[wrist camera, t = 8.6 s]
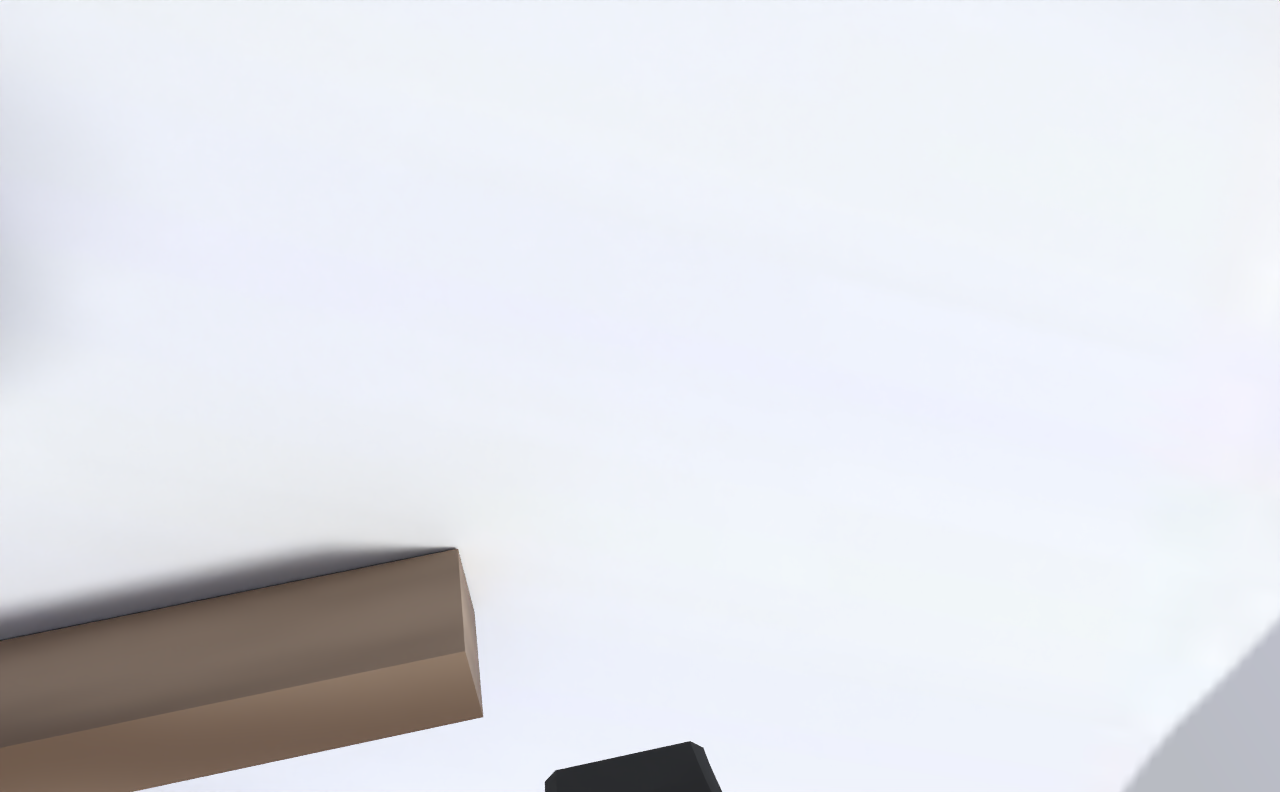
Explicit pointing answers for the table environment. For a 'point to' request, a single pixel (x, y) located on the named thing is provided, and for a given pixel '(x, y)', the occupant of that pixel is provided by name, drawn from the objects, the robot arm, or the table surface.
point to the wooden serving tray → (240, 679)
